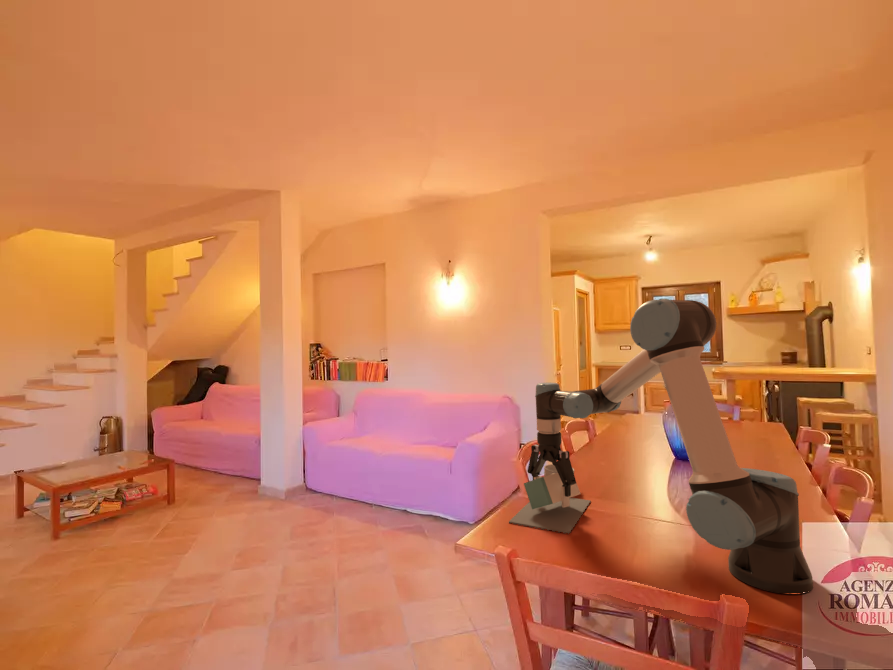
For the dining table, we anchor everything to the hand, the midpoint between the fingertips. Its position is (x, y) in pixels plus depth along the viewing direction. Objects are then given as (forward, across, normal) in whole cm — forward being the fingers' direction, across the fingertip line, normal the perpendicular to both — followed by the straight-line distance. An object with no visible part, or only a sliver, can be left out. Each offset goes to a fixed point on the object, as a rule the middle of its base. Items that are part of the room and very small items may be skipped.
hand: (551, 501), depth 140 cm
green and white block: (-4, 0, -8) cm, 9 cm away
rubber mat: (+3, 0, 0) cm, 3 cm away
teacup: (+4, +12, -17) cm, 22 cm away
